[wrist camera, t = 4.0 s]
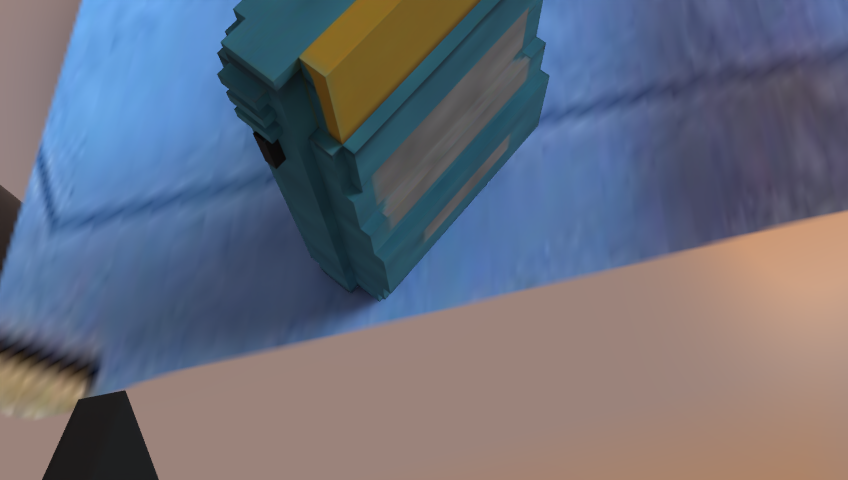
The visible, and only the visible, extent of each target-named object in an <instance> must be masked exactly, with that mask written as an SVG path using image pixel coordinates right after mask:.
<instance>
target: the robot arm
mask: <svg viewBox="0 0 848 480" xmlns="http://www.w3.org/2000/svg"><path fill="white" fill-rule="evenodd" d="M42 480H159V479H158V476H157V474H156V471H155V468H154V466H153V463H152V461H151V458H150V455H149V452H148V450H147V447H146V444H145V442H144V439H143V437H142V434H141V431H140V428H139V426H138V423H137V420H136V418H135V415H134V412H133V410H132V407H131V405H130V402H129V399H128V397H127V394H126V391H120V392H114V393H109V394H104V395H99V396H94V397H89V398H84V399H79V400H78V402H77V404H76V406H75V408H74V410H73V413H72V415H71V417H70V419H69V421H68V424H67V426H66V428H65V430H64V433H63V435H62V437H61V439H60V441H59V444H58V446H57V448H56V450H55V452H54V455H53V457H52V459H51V461H50V463H49V466H48V468H47V470H46V472H45V474H44V477H43V479H42Z"/></svg>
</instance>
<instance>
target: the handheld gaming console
mask: <svg viewBox="0 0 848 480" xmlns="http://www.w3.org/2000/svg"><path fill="white" fill-rule="evenodd" d="M542 3H543V0H242V1H241V2H240V3H239V4H238V5H237V6H236V7H234V8H233V10H234V13H235V15H236V18H237V20H236V21H235V22H234V23H233V24H232V25H231V26H230V27H229V28H228V29H227V30H226V31H225V33H226V35H227V36H226V37H225V38H224V39H223V40H222V41H221V44H222V47H223V48H222V49H221V50H220V51H219V52H218V53H217V54H218V56H219V58H220V60H221V62H222V64H223V67H224V68H223V69H222V70H221V71H220V72H219V73H218V74H217V75H218V77H219V79H220V81H221V83H222V84H223V85H225V86H226V87H227V88H228V89H229V90H228V91H227V92H226V93H227V95H228V97H229V99H230V101H231V102H232V103H234V104H235V105H236V106H237V107H236V108H235V109H234V110H235V112H236V114H237V116H238V117H239V118H240V119H241V120H242V121H244V122H245V123H246V124H248V125H249V126H250V127H251V128H252V129H253V132H254V133H253V135H254V137H255V139H256V141H257V143H258V146H259V148H260V150H261V152H262V154H263V156H264V158H265V161H266V162H267V163H268V164H269V166H270V169H271V171H272V173H273V175H274V177H275V179H276V182H277V184H278V186H279V188H280V190H281V192H282V195H283V197H284V199H285V201H286V203H287V205H288V208H289V210H290V212H291V214H292V216H293V218H294V221H295V223H296V225H297V227H298V229H299V231H300V234H301V236H302V238H303V240H304V242H305V244H306V247H307V249H308V251H309V253H310V255H311V257H312V258H313V259H314V260H315V261H317V262H318V263H319V265H320V267H321V269H322V270H323V271H324V272H325V273H326V274H328V275H329V276H330V277H331V278H332V279H334V280H335V281H336V282H337V283H339V284H340V285H341V286H342V287H344V288H345V289H346V290H347V291H348V292H350V293H352V292H353V291H354V290H355V289H356V288H357V286H358V285H359V286H361V287H362V288H363V289H364V290H365V291H367V292H368V293H369V294H370V295H372V296H373V297H374V298H375V299H377V300H378V301H379V302H380V301H381V299H382V298H384V299H386V298H387V297H388V296H389V294H391V293H392V292H393V291H394V289H395V288H396V287H397V286H398V285H399V284H400V283H401V281H402V280H403V279H404V278H405V277H406V276H407V275H408V273H409V272H410V271H411V270H412V269H413V268H414V267H415V265H416V264H417V263H418V262H419V261H420V260H421V259H422V257H423V256H424V255H425V254H426V253H427V252H428V251H429V249H430V248H431V247H432V246H433V245H434V244H435V243H436V241H437V240H438V239H439V238H440V237H441V236H442V235H443V233H444V232H445V231H446V230H447V229H448V228H449V227H450V225H451V224H452V223H453V222H454V221H455V220H456V219H457V217H458V216H459V215H460V214H461V213H462V212H463V211H464V209H465V208H466V207H467V206H468V205H469V204H470V203H471V201H472V200H473V199H474V198H475V197H476V196H477V195H478V193H479V192H480V191H481V190H482V189H483V188H484V187H485V185H486V184H487V183H488V182H489V181H490V180H491V179H492V177H493V176H494V175H495V174H496V173H497V172H498V171H499V169H500V168H501V167H502V166H503V165H504V164H505V163H506V161H507V160H508V159H509V158H510V157H511V156H512V155H513V153H514V152H515V151H516V150H517V149H518V148H519V147H520V145H521V144H522V143H523V142H524V141H525V140H526V139H527V137H528V136H529V135H530V134H531V133H532V132H533V131H534V129H535V128H536V127H537V126H538V123H539V118H540V114H541V110H542V106H543V101H544V97H545V93H546V88H547V84H548V80H549V75H548V74H546V73H545V72H543V71H542V70H540V68H541V63H542V59H543V54H544V49H545V44H546V43H545V42H544V41H542V40H541V39H539V38H538V37H536V34H537V29H538V24H539V18H540V13H541V8H542Z"/></svg>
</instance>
